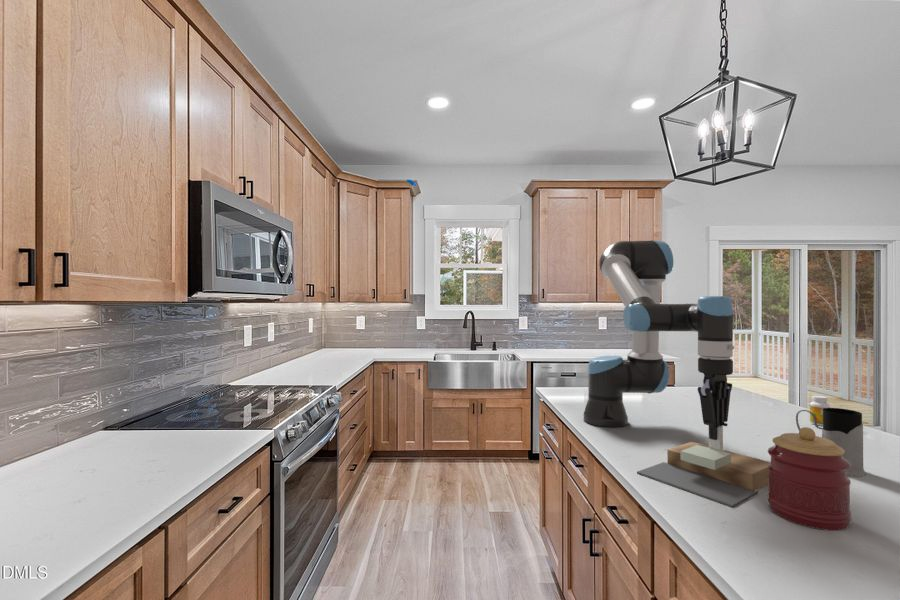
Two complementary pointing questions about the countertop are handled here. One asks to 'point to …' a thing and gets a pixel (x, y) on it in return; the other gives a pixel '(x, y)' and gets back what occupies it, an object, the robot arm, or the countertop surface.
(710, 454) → the coaster
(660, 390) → the robot arm
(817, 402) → the supplement bottle
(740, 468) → the plate
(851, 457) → the glass holder
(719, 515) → the countertop surface
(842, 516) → the canister
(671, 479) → the mat
